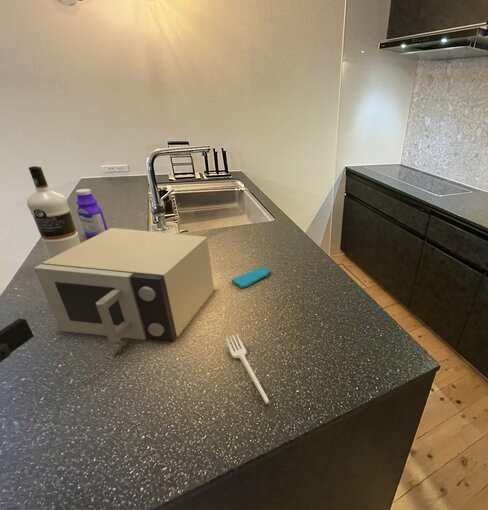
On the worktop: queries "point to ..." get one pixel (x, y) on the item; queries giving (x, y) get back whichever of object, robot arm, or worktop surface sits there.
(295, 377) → the worktop surface
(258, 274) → the sponge
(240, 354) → the fork
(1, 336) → the robot arm
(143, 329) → the microwave door
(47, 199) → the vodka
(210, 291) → the microwave
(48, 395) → the worktop surface
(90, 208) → the bottle
